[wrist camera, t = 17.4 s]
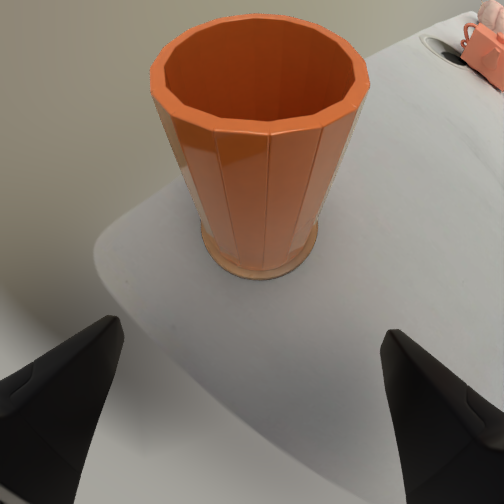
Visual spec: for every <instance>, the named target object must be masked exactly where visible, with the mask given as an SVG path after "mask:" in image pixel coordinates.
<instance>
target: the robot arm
mask: <svg viewBox="0 0 504 504" xmlns="http://www.w3.org/2000/svg"><path fill="white" fill-rule="evenodd" d="M123 342H124V332H123V329H122V326H121V323H120V319H119V318H118V317H117V316H112V315H107V316H105V317H103V318H102V319H100V320H98V321H97V322H95V323H94V324H92V325H90V326H89V327H87V328H85V329H84V330H82V331H80V332H79V333H78V334H76V335H74V336H72V337H71V338H69V339H68V340H66V341H64V342H63V343H61V344H60V345H58V346H56V347H55V348H53V349H52V350H50V351H48V352H47V353H46V354H44V355H42V356H41V357H39V358H37V359H36V360H34V362H32V363H30V364H28V365H26V366H25V367H23V368H22V369H20V370H19V371H17V372H15V373H13V374H11V375H10V376H8V377H6V378H4V379H2V380H0V504H74V500H75V496H76V492H77V488H78V485H79V480H80V477H81V473H82V470H83V466H84V463H85V460H86V457H87V453H88V450H89V447H90V444H91V441H92V437H93V435H94V431H95V429H96V425H97V423H98V420H99V417H100V414H101V411H102V408H103V405H104V403H105V400H106V397H107V395H108V392H109V389H110V386H111V384H112V381H113V378H114V375H115V371H116V368H117V364H118V361H119V357H120V353H121V350H122V346H123ZM380 356H381V363H382V369H383V377H384V384H385V391H386V396H387V400H388V404H389V408H390V413H391V417H392V422H393V426H394V431H395V436H396V441H397V446H398V451H399V456H400V462H401V468H402V474H403V480H404V487H405V493H406V495H407V496H406V502H407V504H504V412H502V411H501V410H499V409H498V408H496V407H495V406H494V405H492V404H491V403H490V402H488V401H487V400H486V399H484V398H483V397H482V396H481V395H479V394H478V393H477V392H476V391H474V390H473V389H472V388H471V387H470V386H467V384H466V383H465V382H464V381H462V380H461V379H460V378H459V377H458V376H456V375H455V374H454V373H453V372H452V371H450V370H449V369H448V368H447V367H445V366H444V365H443V364H442V363H441V362H439V361H438V360H437V359H436V358H434V357H433V356H432V355H431V354H430V353H428V352H427V351H426V350H425V349H423V348H422V347H421V346H420V345H418V344H417V343H416V342H415V341H413V340H412V339H411V338H410V337H408V336H407V335H406V334H405V333H403V332H402V331H401V330H399V329H390V330H388V331H387V332H386V335H385V337H384V340H383V343H382V345H381V348H380Z"/></svg>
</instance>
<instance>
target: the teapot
mask: <svg viewBox="0 0 504 504" xmlns="http://www.w3.org/2000/svg"><path fill="white" fill-rule="evenodd" d="M470 26H471V27H474V28H475V30H474V32H473V34H472V36H471V38H470V40H469V36H468V31H467V29H468V27H470ZM464 35H465V38H466V40H462V41H461V46H462V47H463V48H464V51H463V53H462V55H461V57H460V58H461V59H463V60H464V61H465V62H467V63H468V65H469V66H470V67H471V68H472V69H474V70H477V71H478V72H480V73H481V74H482V75H483V76H485V77H486V78H487V80H488V81H489V83H491V84H492V85H494V86H496V87H498V88H499V89H500V90H501V91H502V92H503V91H504V35H503V33H501V32H499V33H497V34H495V33H494V32H493V31H491V30H490V29H489V28H487V27H486V26H485V25H483V24H482V23H480V22H479V24H478V25H476V24H473V23H467V24H465V26H464ZM464 42H465V43H467V45H466V46H465V45H464Z"/></svg>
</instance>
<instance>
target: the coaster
mask: <svg viewBox="0 0 504 504" xmlns="http://www.w3.org/2000/svg"><path fill="white" fill-rule="evenodd" d="M317 231H318V220H317V221H316V224H315V226H314V228H313V231H312V233H311V235H310V237H309V238H308V240H307V242H306V245H305V246H304V248H303V249H302V251H301V252H300V253H299V254H298V255H297V256H296V257H295V258H294V259H293V260H291V261H290V262H288V263H287V264H285V265H283V266H281V267H278V268H275V269H271V270H264V271H255V270H248V269H244V268H241V267H238V266H236V265H234V264H232V263H230V262H229V261H227V260H226V259H225V258H223V257H222V256H221V255H220V254H219V253H218V251H217V250H216V249H215V247H214V246H213V244H212V242H211V240H210V239H209V237H208V235H207V232H206V230H205V228H204V225H203V223H202V221H201V233H202V238H203V241H204V244H205V246H206V248H207V250H208V252H209V254H210V255H211V257H212V258H213V259H214V260H215V262H216V263H217V264H218V265H219V266H221V267H222V268H223V269H224V270H226V271H228V272H229V273H231V274H233V275H235V276H238V277H241V278H244V279H249V280H270V279H275V278H278V277H281V276H284V275H286V274H288V273H290V272H291V271H293V270H294V269H296V268H297V267H298V266H300V265H301V264H302V263H303V262H304V260H305V259H306V258H307V257H308V255H309V254H310V252H311V250H312V248H313V246H314V243H315V241H316V237H317Z"/></svg>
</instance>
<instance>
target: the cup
mask: <svg viewBox="0 0 504 504" xmlns="http://www.w3.org/2000/svg"><path fill="white" fill-rule="evenodd" d="M369 89H370V81H369V76H368V71H367V67H366V62H365V61H364V59H363V58H362V57H361V56H360V55H359V54H358V52H357V51H356V50H355V49H354V48H353V47H352V46H351V44H350V43H349V42H348V41H346V40H345V39H343V38H342V37H340V36H338V35H337V34H335V33H333V32H331V31H330V30H328V29H326V28H324V27H322V26H320V25H318V24H315V23H311V22H308V21H304V20H301V19H298V18H294V17H290V16H285V15H273V14H255V13H254V14H245V15H237V16H229V17H223V18H218V19H215V20H212V21H209V22H206V23H204V24H201V25H198V26H195V27H193V28H191V29H189V30H187V31H185V32H184V33H182V34H181V35H179V36H178V37H177V38H175V39H174V40H172V41H171V42H170V43H168V44H167V45H166V46H165V47H163V49H162V50H161V52H160V53H159V55H158V56H157V58H156V59H155V61H154V62H153V64H152V66H151V67H150V92H151V95H152V98H153V101H154V103H155V106H156V109H157V111H158V114H159V116H160V119H161V122H162V124H163V127H164V129H165V132H166V134H167V137H168V140H169V142H170V145H171V147H172V150H173V152H174V155H175V157H176V160H177V162H178V165H179V167H180V170H181V172H182V175H183V177H184V180H185V182H186V185H187V187H188V189H189V192H190V194H191V197H192V199H193V202H194V204H195V206H196V209H197V211H198V214H199V216H200V218H201V221H202V223H203V225H204V228H205V230H206V232H207V235H208V237H209V239H210V240H211V242H212V244H213V246H214V247H215V249H216V250H217V251H218V253H219V254H220V255H221V256H222V257H223V258H225V259H226V260H227V261H229V262H230V263H232V264H234V265H236V266H238V267H241V268H244V269H248V270H255V271H264V270H271V269H275V268H278V267H281V266H283V265H285V264H287V263H288V262H290V261H291V260H293V259H294V258H295V257H296V256H297V255H298V254H299V253H300V252H301V251H302V249H303V248H304V246H305V245H306V242H307V240H308V238H309V237H310V235H311V233H312V231H313V228H314V226H315V224H316V221H317V219H318V217H319V214H320V212H321V210H322V207H323V205H324V203H325V200H326V198H327V196H328V193H329V191H330V189H331V186H332V184H333V181H334V179H335V176H336V174H337V172H338V169H339V167H340V164H341V162H342V159H343V157H344V154H345V152H346V149H347V147H348V144H349V142H350V139H351V137H352V134H353V131H354V129H355V126H356V124H357V121H358V118H359V116H360V113H361V110H362V108H363V105H364V102H365V100H366V97H367V94H368V91H369Z"/></svg>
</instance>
